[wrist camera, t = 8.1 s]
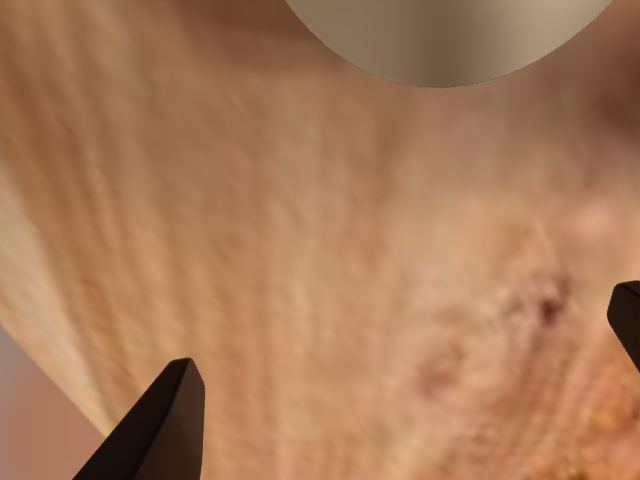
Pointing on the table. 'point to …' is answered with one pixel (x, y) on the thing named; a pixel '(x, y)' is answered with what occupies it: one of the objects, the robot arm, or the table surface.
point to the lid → (444, 35)
